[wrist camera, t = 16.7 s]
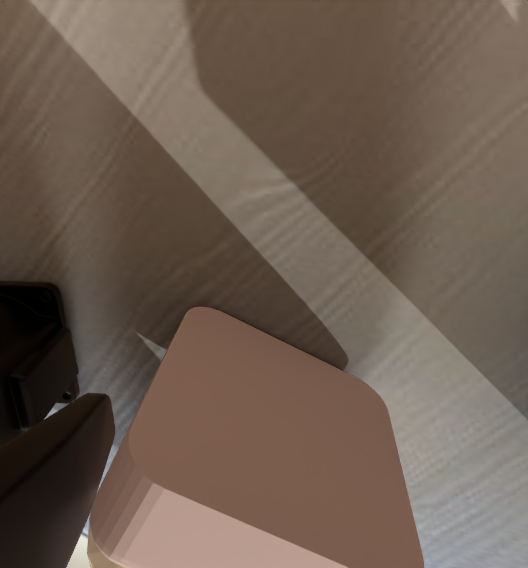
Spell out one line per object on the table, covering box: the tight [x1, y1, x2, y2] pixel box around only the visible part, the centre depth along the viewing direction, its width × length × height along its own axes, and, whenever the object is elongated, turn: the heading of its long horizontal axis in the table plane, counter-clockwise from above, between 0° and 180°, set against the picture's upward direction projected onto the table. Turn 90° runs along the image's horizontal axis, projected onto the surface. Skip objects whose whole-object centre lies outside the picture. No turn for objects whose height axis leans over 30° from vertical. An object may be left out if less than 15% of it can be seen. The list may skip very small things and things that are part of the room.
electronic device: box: [90, 307, 424, 568], centre depth 19 cm, size 10×5×10 cm, turn 63°
